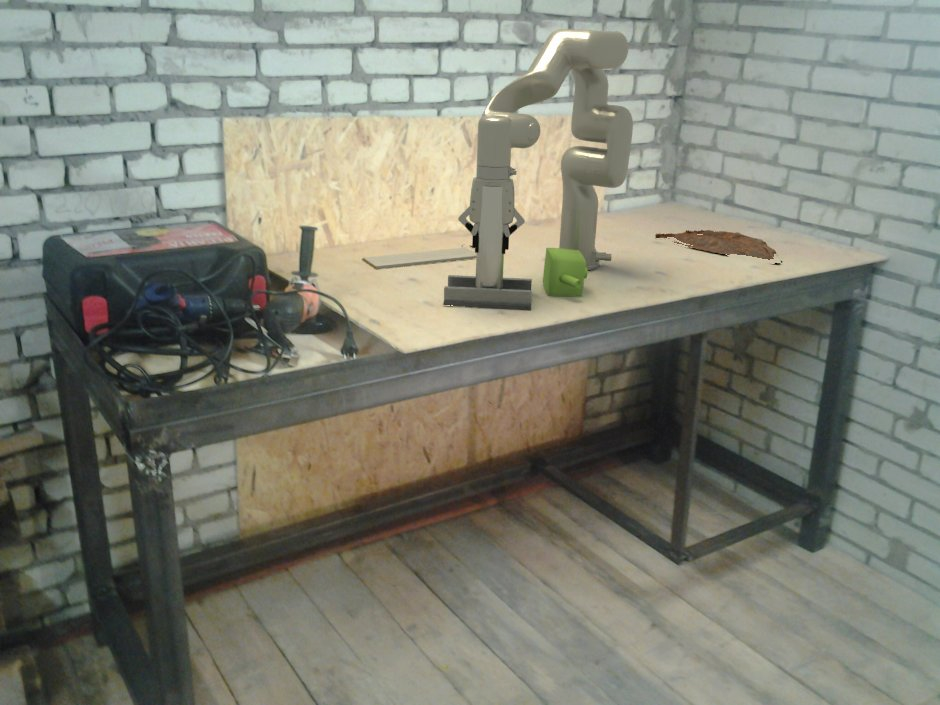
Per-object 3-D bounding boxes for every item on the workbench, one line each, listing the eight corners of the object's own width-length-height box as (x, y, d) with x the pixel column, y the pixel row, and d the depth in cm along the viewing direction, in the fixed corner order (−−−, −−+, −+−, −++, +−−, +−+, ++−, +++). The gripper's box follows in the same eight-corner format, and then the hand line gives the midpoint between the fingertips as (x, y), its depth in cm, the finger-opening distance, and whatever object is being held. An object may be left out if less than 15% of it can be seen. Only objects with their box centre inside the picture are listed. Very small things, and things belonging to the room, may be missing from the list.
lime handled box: (591, 304, 206) (596, 266, 203) (550, 302, 206) (554, 263, 202) (579, 281, 223) (583, 245, 219) (541, 279, 222) (545, 243, 219)
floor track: (530, 293, 211) (531, 277, 210) (530, 310, 199) (531, 293, 198) (448, 289, 212) (449, 273, 211) (443, 306, 200) (443, 289, 199)
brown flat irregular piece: (652, 246, 270) (653, 230, 269) (716, 237, 285) (717, 222, 283) (755, 270, 238) (757, 252, 237) (821, 258, 253) (823, 241, 252)
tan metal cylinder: (485, 281, 209) (489, 176, 200) (508, 286, 205) (513, 179, 196) (469, 286, 204) (472, 179, 195) (492, 292, 200) (497, 183, 191)
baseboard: (359, 260, 238) (376, 271, 228) (359, 250, 237) (376, 261, 227) (461, 250, 251) (480, 260, 241) (461, 240, 250) (481, 250, 240)
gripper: (531, 172, 198) (527, 249, 205) (456, 168, 199) (454, 246, 206) (531, 177, 191) (527, 257, 198) (453, 174, 192) (451, 254, 199)
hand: (490, 251), depth 202 cm, fingers closed on tan metal cylinder, 5 cm apart
